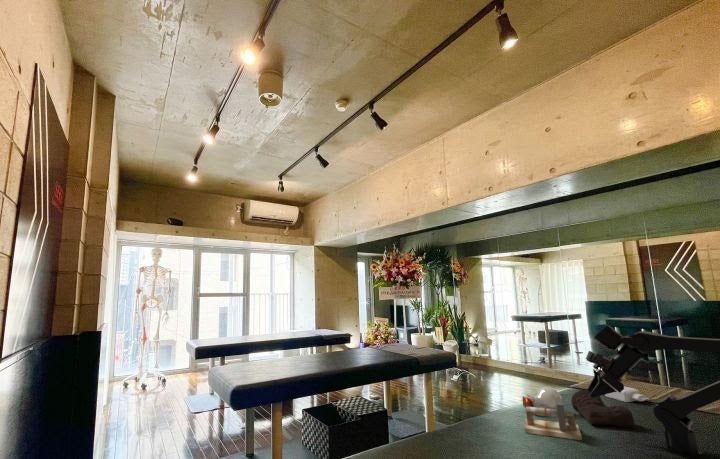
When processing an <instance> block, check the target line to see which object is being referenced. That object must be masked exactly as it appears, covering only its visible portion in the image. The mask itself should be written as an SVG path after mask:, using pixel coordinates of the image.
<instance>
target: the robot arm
mask: <svg viewBox="0 0 720 459" xmlns="http://www.w3.org/2000/svg"><path fill="white" fill-rule="evenodd" d="M593 339H594V340H595V341H596V342H598V343H599V344H600V345H601V346H603V347H604V348H606V349H607V350H608V351H614V352H616V351H617V350H618V351H617V352H616V353H615V354H614V355H609V356H608V357H605V356H604V355H603V354H602V353H599V352H593V351H590V350H588V352H587V355H586V358H585V360H586V361H587V362H589V363H591V364H594V365H592V368H593V369H592V372H593V378H592V379H591V381H590V383H589V385H588V388H587V389H586V390H588V391H589V392H591V394H590V396H591V397H592V398H594V397H598V396H600V397H601V396H604V395H605V394H609V393H613V392H617V391H618V392H619V393H620V392H621V391H622V390H624V386H625V385H624V383H623V382H622V379H623V378H624V376H626V375H627V374H630V373H632V371H631V370H632V369H633V368H634V367H635V366H637V364H638V363H639V362H640V361H641V360H643V361H645V362H646V363H650V360H649V353H648V351H649V352H650V351H664V350H677V351H688V352H689V351H690V352H700V353H713V354H714V353H715V354H720V338H707V337H690V336H689V337H688V336H672V335H666V334H661V333H657V332H652V331H647V330H640V331H637V332H636V333H633V334H632V335H627V334H626V335H624V336H623V335H622V334H621V333H619V332H618V331H617V330H615V329H614V328H613V327H612V326H611V325H608V324H607V325H606V326H605V327H604V328H603V329H601V330H600V331H598V332H597V333H596V334H595V335H594V338H593ZM622 345H623V346H622ZM621 346H622V347H621ZM631 346H632V347H633V348H632V347H631ZM620 347H621V348H620ZM619 348H620V349H619ZM644 352H647V353H644ZM615 389H616V390H617V391H616V390H615ZM718 401H720V380H718V381H716V382H712V383H711V384H709V385H706V386H704V387H702V388H700V389H697V390H695V391H693V392H691V393H688V394H686V395H684V396H679V397H676V396H675V394H674V393H670V394H668V396H666V397H660V398H659V399H658V400H657V401H656V405H655V406H654V407H653V414H654V417H655V418H656V419H657V420H658V421H659V422H660V423H662V425H663V427H664V430H663V435H664V439H665V444H666V446H663V448H664V450H667V451H670V452H672V453H675V454H678V455H680V456H683V457H685V458H692V457H693V458H694V457H698V456H703V455H704V453H703V452H702V451H700V450H699V448H698V443H697V437H696V432H695V431H692V430H691V428H692V426H693V423H694V421H693V420H692V419H691V418H690V417H689V416H688V415H689V414H691V413H692V412H694V411H695V410H699V409H701V408H703V407H705V406H708V405H711V404H713V403H716V402H718Z"/></svg>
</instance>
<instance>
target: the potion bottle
mask: <svg viewBox="0 0 720 459" xmlns="http://www.w3.org/2000/svg"><path fill="white" fill-rule="evenodd" d="M562 397H563V396H562V395H561V394H560V393H559V391H557V390H556V389H554V388H553V387H551V386H542V387H540V388H538V390H537V392H536V395H534V396H532V395H530V394H526V397H525V396H522V405H523V407H524V408H525V409H526V407H536V408H546V409H555V410H557V407H556V399H555V398H559V399H562V400H563V398H562Z"/></svg>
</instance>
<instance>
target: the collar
mask: <svg viewBox="0 0 720 459" xmlns="http://www.w3.org/2000/svg"><path fill="white" fill-rule="evenodd" d="M555 399H556V407H557V412H558V417H557V422H559V427H560V430H564V431H567V429H566V422H567V421H566V418H565V414H564V410H565V408H564V407H565V406H564V402H563V398H562V399H559V398H555Z"/></svg>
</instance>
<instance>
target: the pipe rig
mask: <svg viewBox="0 0 720 459" xmlns="http://www.w3.org/2000/svg"><path fill="white" fill-rule="evenodd" d="M525 412H526V418H524V434H533V435H539V436H547V437H548V436H549V437H554V438H563V439H570V440H578V441H583V437H582V434H581V431H580V427H579V425H578V424H576V417H575V412H574V410H565V409H564V414H565V419H567V423H566V429H567V431H564V430H560V427H559V422H558V421H547V420H540V419H534V416H543V417H551V418H552V417H553V418H558V412H557V410H555V409H546V408H542V407H540V408H536V407H526V408H525Z"/></svg>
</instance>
